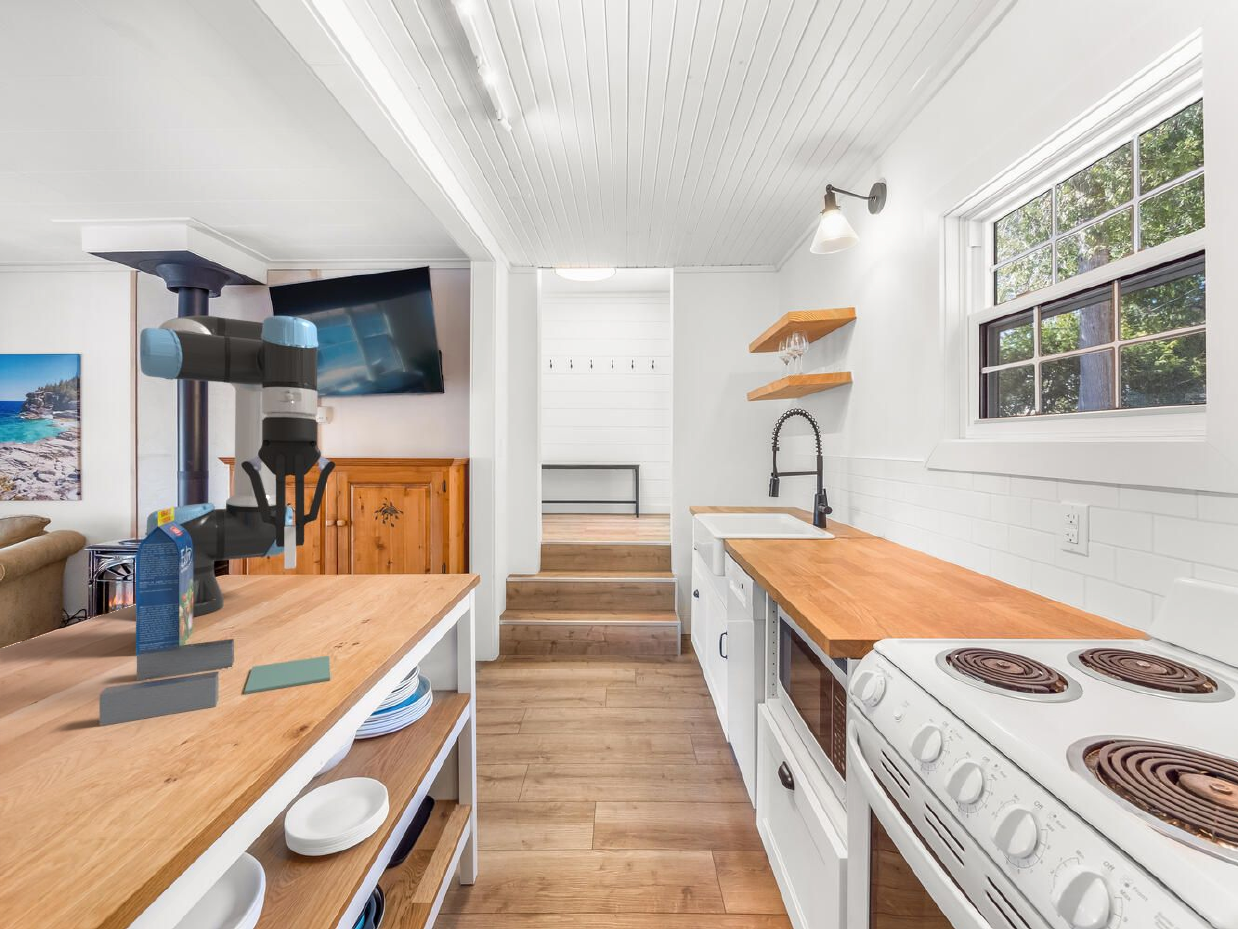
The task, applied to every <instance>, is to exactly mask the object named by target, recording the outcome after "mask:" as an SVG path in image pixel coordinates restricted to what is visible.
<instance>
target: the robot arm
mask: <svg viewBox="0 0 1238 929" xmlns="http://www.w3.org/2000/svg"><path fill="white" fill-rule="evenodd" d="M139 337H140V338H139V355H140V356H139V359H140V360H139V361H140V370H141V373H142V374H143V375H144V376H147V377H151V378H152V377H153V378H161V379H165V380H185V381H187V380H188V381H199V382H216V383H226V384H230V385H231V386H233V388H234V389H235V394H234V395H235V401H234V402H235V403H234V405H235V408H234V409H235V411H234V412H235V413H234V414H235V415H234V486H233V488H234V493H233V494H232V495H231V496H230V497H229V498H227V499H226V501H225V508H219V509H218V508H216V506H215V505H214V503H212V502H206V503H205V502H204V503H195V504H186V505H180V506H173V507H174V520H175V521H176V522H177V523H178V524H179V525H181V526H182V527H183V528H184V529H185V530H186V531H187V532H188V533H189V534H190V536H191V539H192V542H193V618H194V617H198V616H204V615H207V613H208V614H211V613H214V612H217V611H219V610H221V609H222V607H223V608H224V594H223V592H222V590H221V587H220V585H219V583H218V581H217V578H216V575H215V562H217V561H230V560H231V561H232V560H239V559H241V560H242V559H252V558H253V559H254V558H262V559H264V558H267V557H271V556H272V557H273V556H278V555H281V554H283V553H284V559H283V560H284V569H285V570H288V569H290V570H291V569H297V546H298V547H300V546H303V545H304V543H305V526H306V524H308V523H311V522H314V521H316V520H317V518H318V515H319V511H320V508H321V504H322V500H323V497H324V494H325V489H326V486H327V482H328V479H329V476H330V474H331V473H332V471H333V470H334V469H335V467H336V463H335V462H334V461H331V460H329V459H327V458H326V457H324V456H323V455H322V452H321V450H320V449H319V447H318V446H319V445H318V421H317V420H316V419H314V417H317V415H318V347H319V341H318V329H317V326H316V325H315V324H314V323H313V322H312V321H310V320H308V319H304V318H300V317H297V316H295V317H294V316H288V315H272V316H267V317H265V318H264V319H263V321H262V322H258V321H250V320H243V319H234V318H227V317H219V316H212V315H189V316H181V317H175V318H172V319H169V320H167V321H165V322H163V323H162V324H161V325H159V327H157V328H155V327H145V328H143V329H142V330H141V332H140V336H139ZM316 463H318V466H317V467H318V470H319V471H320V473H319V477H318V479H317V480H318V481H317V484H316V487H315V492H314V494H313V499H312V501H311V504H310V505H311V506H310V509H309V513H307V514H305V476H306V475H307V474H308V473H309V472H310V471H311V470H312V468H313V467H314V466H315V464H316ZM287 476H288V477H289V476H294V502H295V503H294V512H295V514H294V512H293V509H292V508H293V507H291V506H289V505H287V504H286V502H287V498H286V497H287V496H286V495H287V494H286V493H287V492H286V489H287V485H286V484H287V482H286V481H287ZM164 509H165V508H164ZM164 509H163V508H161V509H158V510H155V511H153V512H151V513H149V515H148V517H147V519H146V532H145V534H144V535H145V536H146V537H147V536H148V535H149V534H150V533H151V532H152V531H153V530H154V529H155V528H157V527H158V511H160V510H164ZM294 516H295V517H294ZM293 517H294V518H293ZM293 519H294V520H295V521H294V522H293ZM293 523H294V524H293ZM203 614H204V615H203ZM134 616H135V618H136V615H134Z"/></svg>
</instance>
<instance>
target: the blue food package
mask: <svg viewBox="0 0 1238 929" xmlns="http://www.w3.org/2000/svg"><path fill="white" fill-rule="evenodd" d="M174 507H175V506H171V507H167V508H164V510H162V509H159V510H160V511H158V510H157V511H158V527H157V528H155V529H154V530H153V531H152V532H151V533H150V534H149V535H148V536H147V535H146V536H145V537H144V539H143V540H142V541H141V542H140V544H139V545H138V548H137V551H136V555H135V556H136V557H135V616H136V617H135V657H137V654H138V653H139V652H140V651H141V650H147V649H155V648H163V647H171V646H179V645H186V644H185V643H186V642H187V641H188V640H189V639H190V637H191V635H192V634H193V632H194V617H193V542H192V539H191V536H190V534H189V533H188V532H187V531H186V530H185V529H184V528H183V527H182V526H181V525H179V524H178V523H177V522H176V521H175V520H174ZM192 631H193V632H192ZM191 633H192V634H191ZM187 639H188V640H187ZM186 640H187V641H186ZM185 641H186V642H185Z"/></svg>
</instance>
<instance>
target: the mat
mask: <svg viewBox="0 0 1238 929" xmlns="http://www.w3.org/2000/svg"><path fill="white" fill-rule="evenodd" d="M330 667H331V665H330V655H324V656H323V655H322V656H318V657H312V658H311V657H310V658H304V659H297V660H289V661H284V662H283V661H282V662H277V663H269V664H263V665H256V666H252V667H251V670H250V671H249V672H250V674H249V676H248V679H247V682H246V685H245V688H244V691H243V692H244V693H243V695H247V694H253V693H259V692H260V693H261V692H265V691H272V690H273V691H274V690H277V689H283V688H290V687H298V686H303V685H309V684H314V683H320V682H327V681H331V671H330V669H331V668H330Z"/></svg>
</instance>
